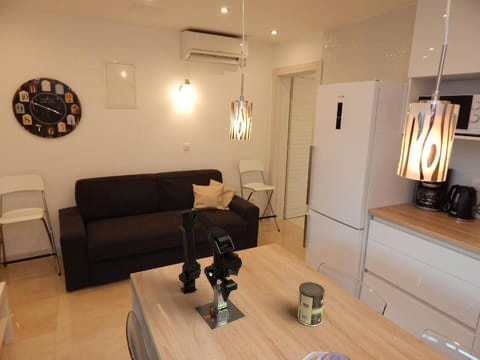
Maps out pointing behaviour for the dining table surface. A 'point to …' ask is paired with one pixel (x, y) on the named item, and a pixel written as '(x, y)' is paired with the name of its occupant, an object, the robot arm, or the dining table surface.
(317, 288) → the coffee can
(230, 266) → the robot arm
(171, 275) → the dining table surface
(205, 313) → the stand base
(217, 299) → the post
